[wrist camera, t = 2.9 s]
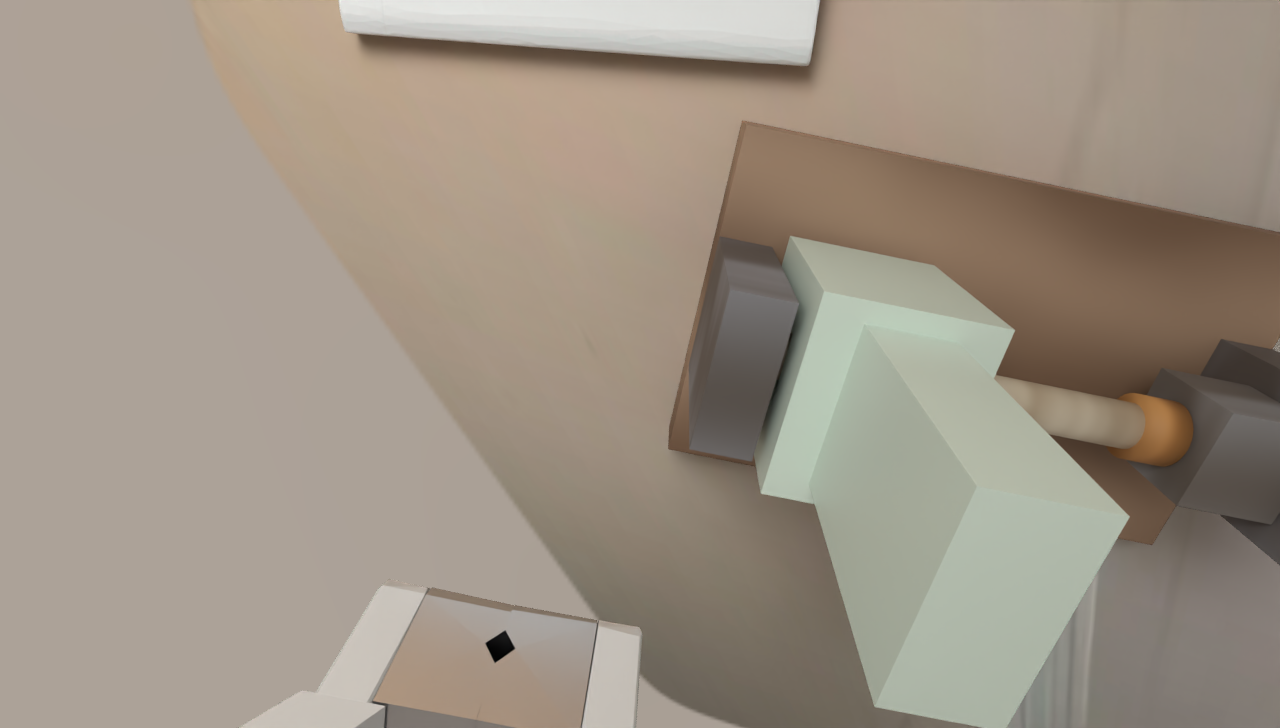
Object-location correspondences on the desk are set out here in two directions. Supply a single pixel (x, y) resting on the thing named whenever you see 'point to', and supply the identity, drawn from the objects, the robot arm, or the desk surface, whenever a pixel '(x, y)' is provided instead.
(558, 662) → the robot arm
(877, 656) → the mint green stepped block
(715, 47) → the external hard drive
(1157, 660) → the desk surface
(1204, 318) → the rod rail stand
